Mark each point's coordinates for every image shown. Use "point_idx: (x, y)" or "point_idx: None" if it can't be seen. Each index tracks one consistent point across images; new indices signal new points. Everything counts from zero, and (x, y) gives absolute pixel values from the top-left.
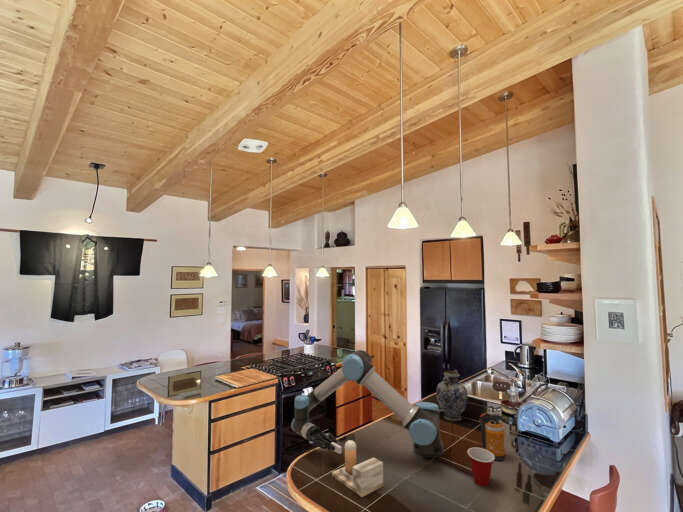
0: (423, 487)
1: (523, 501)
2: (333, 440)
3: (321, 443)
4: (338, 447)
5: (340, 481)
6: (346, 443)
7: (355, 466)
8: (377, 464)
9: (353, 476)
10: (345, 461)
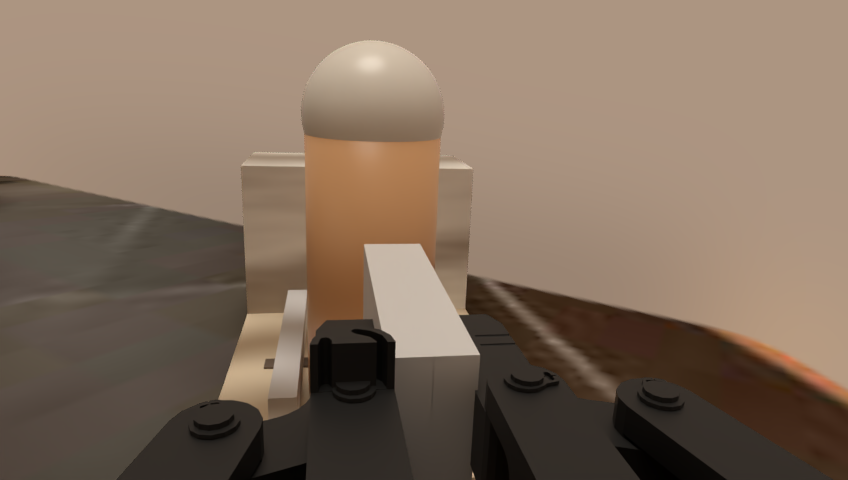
0: (117, 253)
1: (6, 183)
2: (366, 335)
3: (790, 466)
4: (422, 248)
5: None
6: (426, 66)
7: (451, 166)
8: (303, 153)
9: (467, 230)
10: (434, 268)
